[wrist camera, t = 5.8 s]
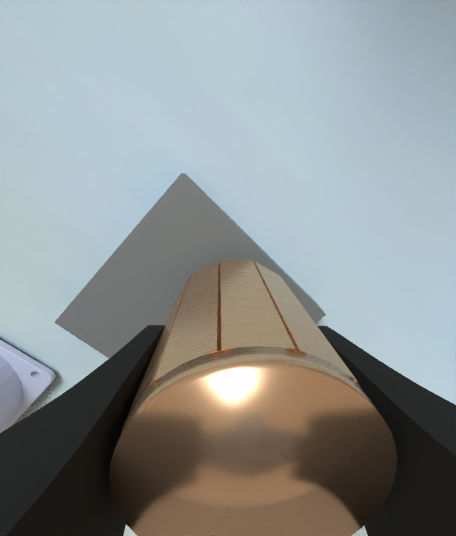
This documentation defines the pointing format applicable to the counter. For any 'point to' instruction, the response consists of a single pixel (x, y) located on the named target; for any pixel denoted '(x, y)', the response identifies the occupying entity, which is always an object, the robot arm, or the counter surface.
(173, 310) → the copper topped wooden cylinder
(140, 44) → the counter surface
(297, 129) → the counter surface
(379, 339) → the counter surface
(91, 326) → the base
